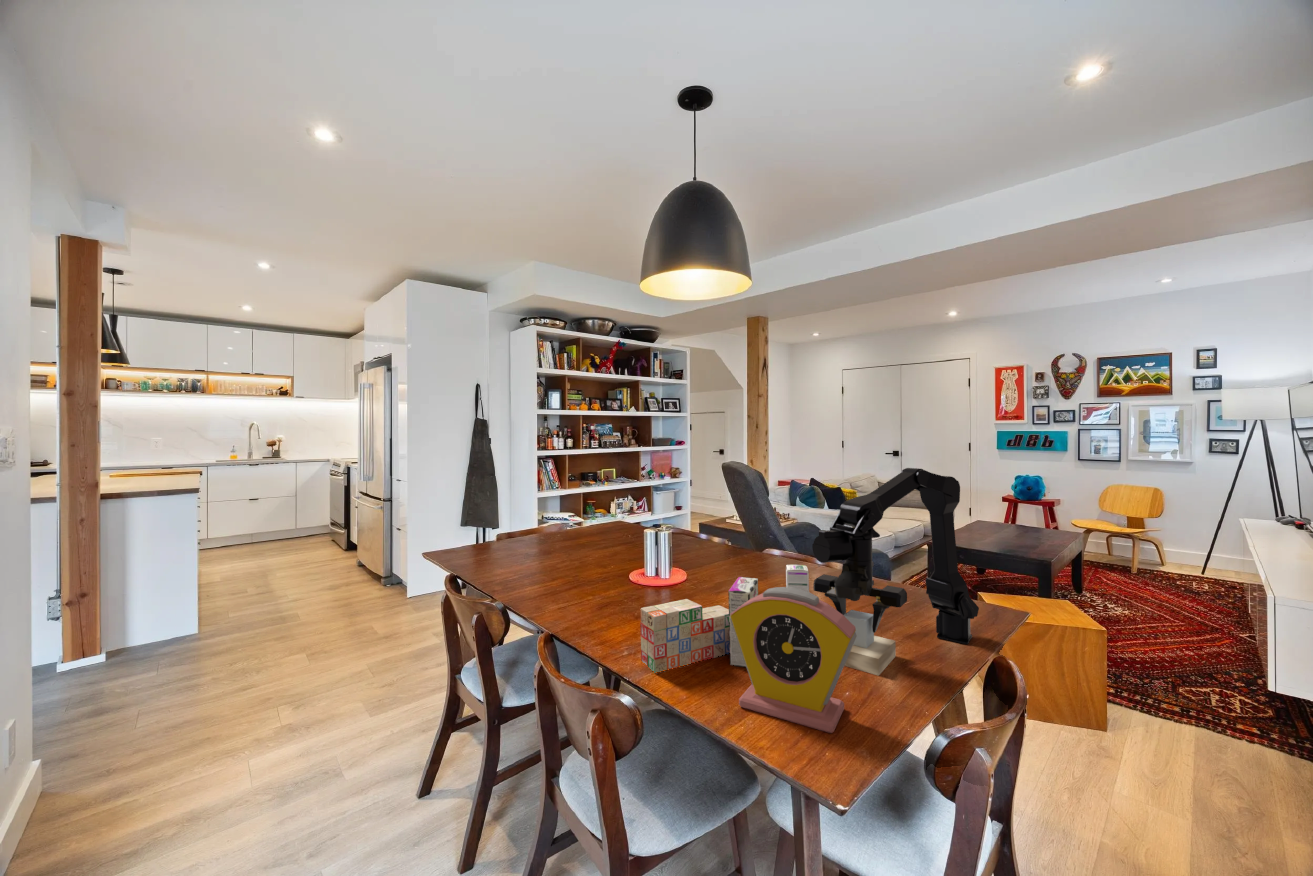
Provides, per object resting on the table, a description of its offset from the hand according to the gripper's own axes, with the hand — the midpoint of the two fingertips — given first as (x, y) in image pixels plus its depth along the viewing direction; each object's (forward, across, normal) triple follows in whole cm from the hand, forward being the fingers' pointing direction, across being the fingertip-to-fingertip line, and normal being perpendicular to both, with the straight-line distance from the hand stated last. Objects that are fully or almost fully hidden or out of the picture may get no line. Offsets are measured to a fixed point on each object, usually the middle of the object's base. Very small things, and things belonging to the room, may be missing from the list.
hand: (858, 628), depth 112 cm
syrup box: (+7, -20, +12) cm, 24 cm away
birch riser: (+7, 0, 0) cm, 7 cm away
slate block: (+3, 0, 0) cm, 3 cm away
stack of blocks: (+7, -29, -24) cm, 38 cm away
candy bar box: (+7, -20, -16) cm, 26 cm away
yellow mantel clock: (+7, -2, -29) cm, 30 cm away
